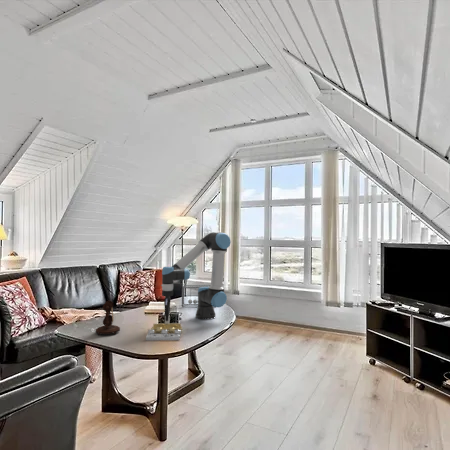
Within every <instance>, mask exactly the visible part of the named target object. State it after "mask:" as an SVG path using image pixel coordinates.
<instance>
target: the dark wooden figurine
mask: <svg viewBox="0 0 450 450" xmlns="http://www.w3.org/2000/svg"><path fill="white" fill-rule="evenodd" d="M113 307H114V302H113V301H112V300H106V301H105V302H104V304H103V305H102V309H103V311H104V312H105V315H104V318H103V320H102V324H103V325H101V326H99V327H97V328H96V329H95V333H97V334H98V336H100V335H107V334H110V335H111V334H114V335H117V333H118V332H120V331H121V327H120V326H118V325H115V324H114V325H113V323H114V313H113V312H114V311H113Z"/></svg>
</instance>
